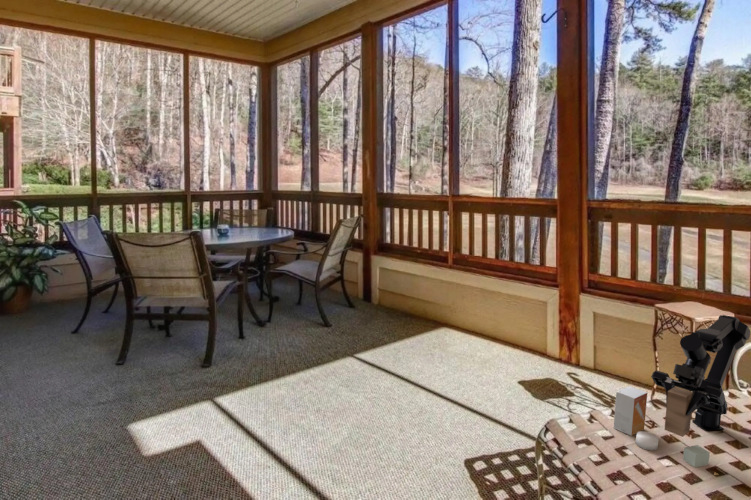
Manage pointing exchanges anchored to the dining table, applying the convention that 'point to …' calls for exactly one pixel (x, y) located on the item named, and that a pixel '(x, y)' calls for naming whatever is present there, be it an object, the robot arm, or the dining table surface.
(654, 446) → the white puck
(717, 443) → the dining table surface
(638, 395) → the small box
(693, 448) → the sage block
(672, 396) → the walnut block
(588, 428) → the dining table surface
